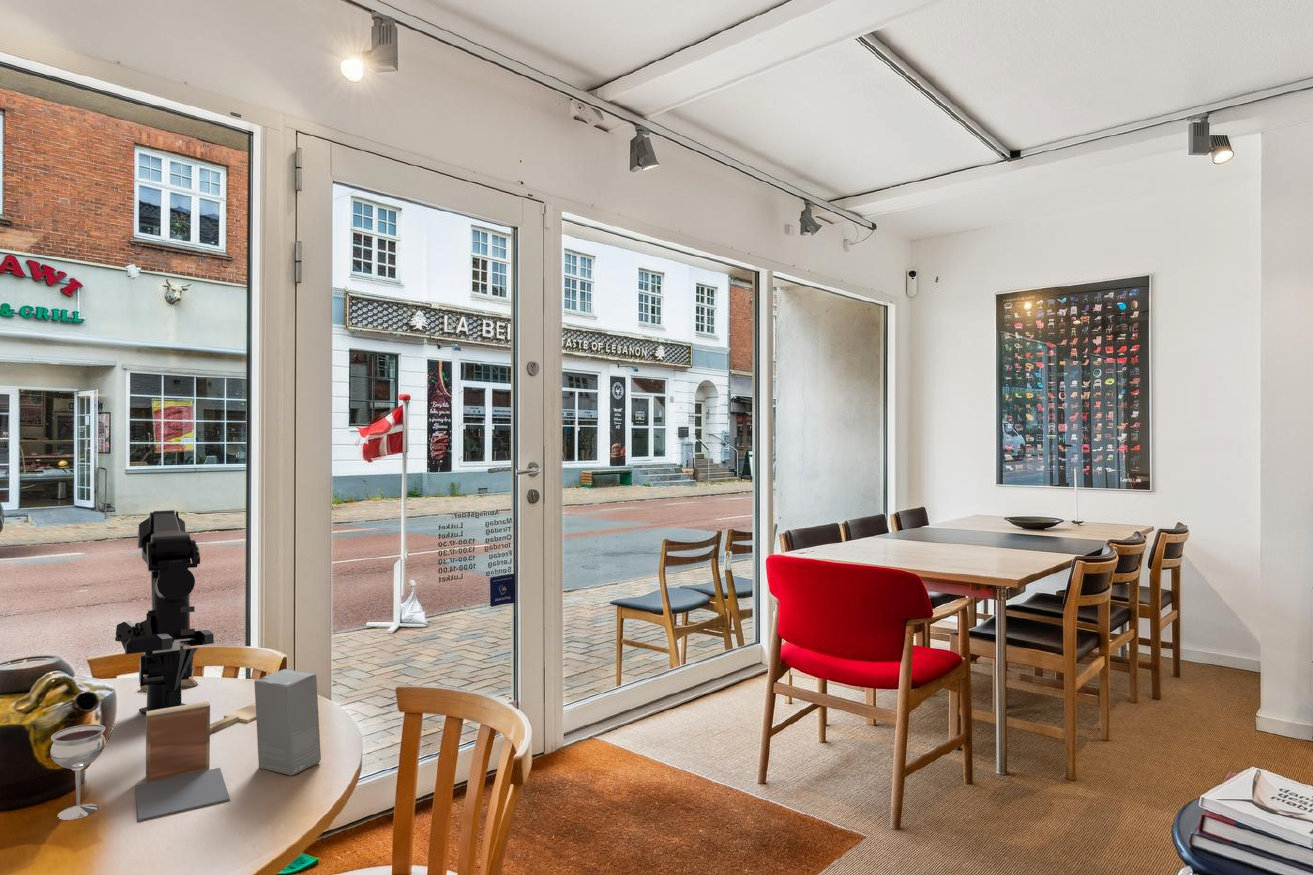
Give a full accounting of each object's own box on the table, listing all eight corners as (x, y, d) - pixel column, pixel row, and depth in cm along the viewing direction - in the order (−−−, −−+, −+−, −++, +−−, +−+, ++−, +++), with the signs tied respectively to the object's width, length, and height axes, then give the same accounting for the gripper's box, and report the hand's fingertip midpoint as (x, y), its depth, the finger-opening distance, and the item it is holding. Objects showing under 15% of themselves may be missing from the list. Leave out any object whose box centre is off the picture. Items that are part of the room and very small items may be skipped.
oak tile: (145, 777, 130) (146, 711, 130) (207, 764, 136) (208, 701, 135) (146, 783, 128) (146, 716, 128) (209, 770, 133) (210, 705, 133)
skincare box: (321, 763, 137) (323, 672, 137) (287, 779, 131) (288, 685, 130) (287, 753, 141) (288, 665, 140) (251, 769, 134) (253, 677, 134)
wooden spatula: (203, 741, 144) (204, 736, 144) (178, 737, 146) (179, 731, 146) (278, 709, 162) (278, 704, 162) (255, 705, 163) (255, 700, 163)
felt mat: (135, 786, 127) (135, 784, 127) (219, 769, 134) (219, 767, 134) (138, 821, 116) (138, 819, 116) (229, 800, 123) (229, 798, 123)
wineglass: (44, 826, 114) (45, 745, 114) (55, 806, 120) (55, 728, 120) (101, 817, 117) (102, 737, 117) (108, 797, 123) (109, 721, 123)
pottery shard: (197, 694, 173) (203, 670, 182) (195, 677, 172) (201, 653, 181) (140, 703, 169) (148, 678, 178) (137, 685, 168) (146, 661, 177)
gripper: (155, 607, 154) (156, 690, 151) (93, 609, 136) (92, 703, 133) (214, 600, 155) (215, 682, 152) (160, 601, 136) (160, 694, 133)
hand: (172, 690), depth 142 cm, fingers closed
